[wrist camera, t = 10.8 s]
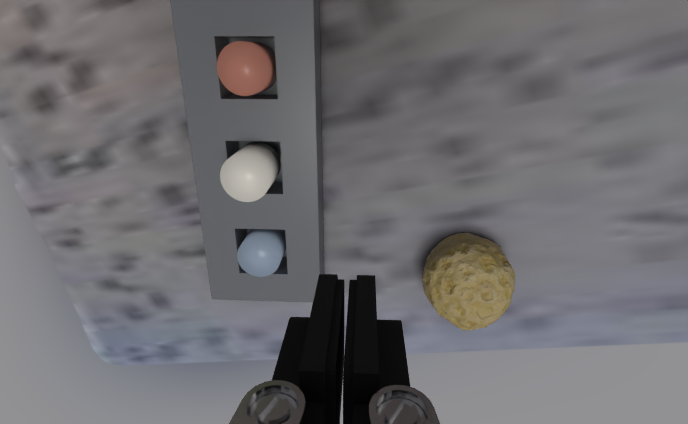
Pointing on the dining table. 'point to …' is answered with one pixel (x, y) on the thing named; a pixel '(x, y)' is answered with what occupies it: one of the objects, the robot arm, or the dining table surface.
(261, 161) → the white rounded oval piece
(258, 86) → the brown egg
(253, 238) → the light blue rounded cylinder
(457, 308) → the rock
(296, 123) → the grey rectangular block
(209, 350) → the dining table surface
